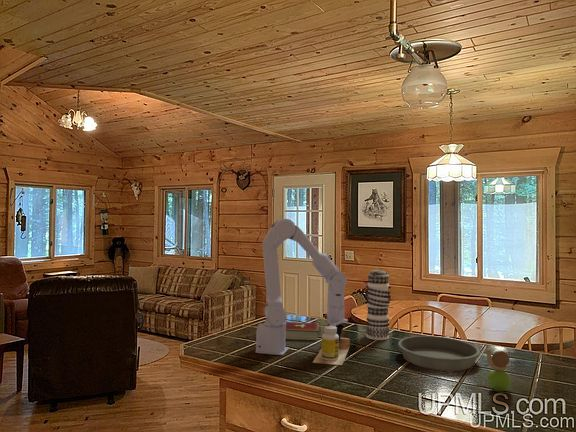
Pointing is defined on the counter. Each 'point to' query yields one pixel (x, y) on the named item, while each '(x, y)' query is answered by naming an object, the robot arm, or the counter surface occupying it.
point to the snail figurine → (498, 370)
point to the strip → (343, 351)
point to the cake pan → (438, 352)
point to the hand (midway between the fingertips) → (335, 346)
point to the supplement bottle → (330, 343)
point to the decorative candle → (377, 305)
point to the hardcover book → (302, 331)
